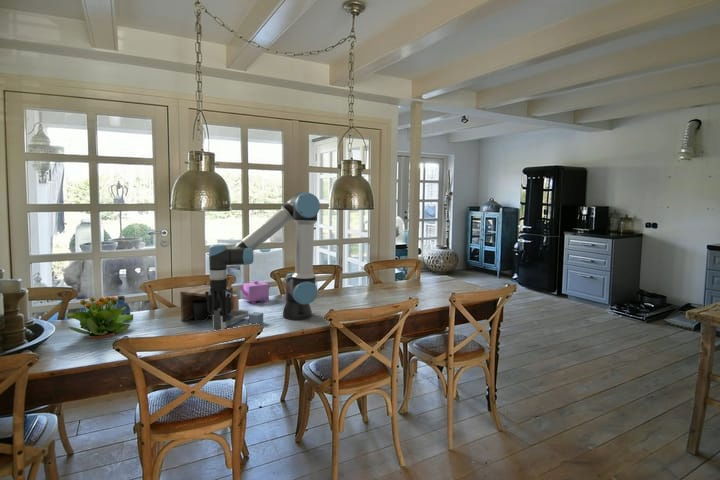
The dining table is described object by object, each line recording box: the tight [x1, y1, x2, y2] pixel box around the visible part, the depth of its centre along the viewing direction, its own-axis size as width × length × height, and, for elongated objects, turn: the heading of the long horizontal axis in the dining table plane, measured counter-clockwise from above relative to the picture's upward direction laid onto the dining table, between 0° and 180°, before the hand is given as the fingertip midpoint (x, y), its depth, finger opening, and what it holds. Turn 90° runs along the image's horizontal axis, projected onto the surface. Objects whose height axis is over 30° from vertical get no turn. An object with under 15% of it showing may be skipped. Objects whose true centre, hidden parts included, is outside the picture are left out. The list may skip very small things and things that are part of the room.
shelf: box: [179, 284, 234, 322], centre depth 214 cm, size 18×18×15 cm
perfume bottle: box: [114, 295, 131, 315], centre depth 210 cm, size 6×6×12 cm
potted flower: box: [64, 296, 134, 340], centre depth 185 cm, size 25×24×18 cm
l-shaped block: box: [233, 294, 240, 310], centre depth 229 cm, size 16×4×9 cm, turn 71°
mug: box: [192, 299, 212, 322], centre depth 213 cm, size 8×12×10 cm
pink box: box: [236, 280, 271, 305], centre depth 248 cm, size 20×10×12 cm, turn 124°
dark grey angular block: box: [213, 308, 249, 331], centre depth 205 cm, size 13×24×9 cm, turn 161°
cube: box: [248, 311, 264, 325], centre depth 207 cm, size 5×5×5 cm
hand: (219, 327), depth 194 cm, fingers closed on dark grey angular block, 3 cm apart
